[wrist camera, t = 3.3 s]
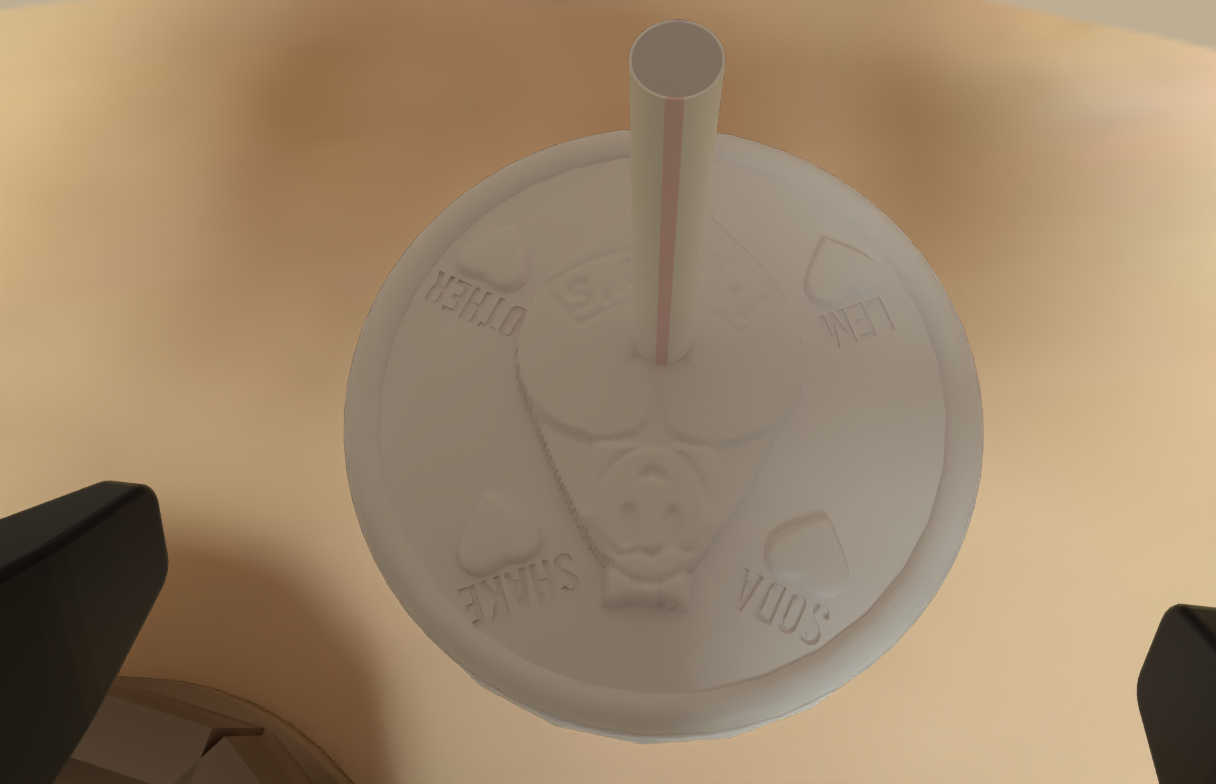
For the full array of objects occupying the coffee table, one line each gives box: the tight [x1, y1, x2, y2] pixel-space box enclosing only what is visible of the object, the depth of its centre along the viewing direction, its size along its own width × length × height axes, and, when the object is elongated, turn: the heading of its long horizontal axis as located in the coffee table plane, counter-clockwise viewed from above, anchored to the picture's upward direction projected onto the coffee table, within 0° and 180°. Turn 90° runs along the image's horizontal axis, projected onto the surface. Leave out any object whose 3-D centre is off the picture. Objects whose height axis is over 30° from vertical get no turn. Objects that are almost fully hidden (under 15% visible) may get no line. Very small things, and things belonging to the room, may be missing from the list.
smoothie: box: [344, 20, 983, 744], centre depth 12 cm, size 6×6×14 cm
